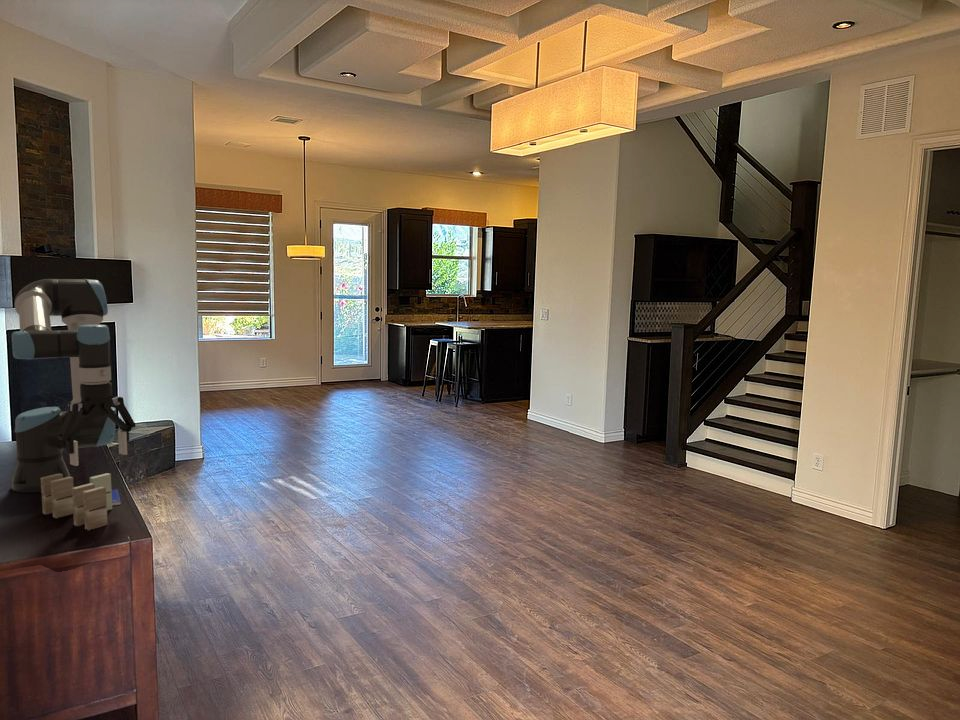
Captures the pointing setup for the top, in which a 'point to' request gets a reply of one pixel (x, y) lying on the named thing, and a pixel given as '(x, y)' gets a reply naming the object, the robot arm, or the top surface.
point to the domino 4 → (105, 482)
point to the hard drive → (115, 497)
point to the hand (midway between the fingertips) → (99, 459)
